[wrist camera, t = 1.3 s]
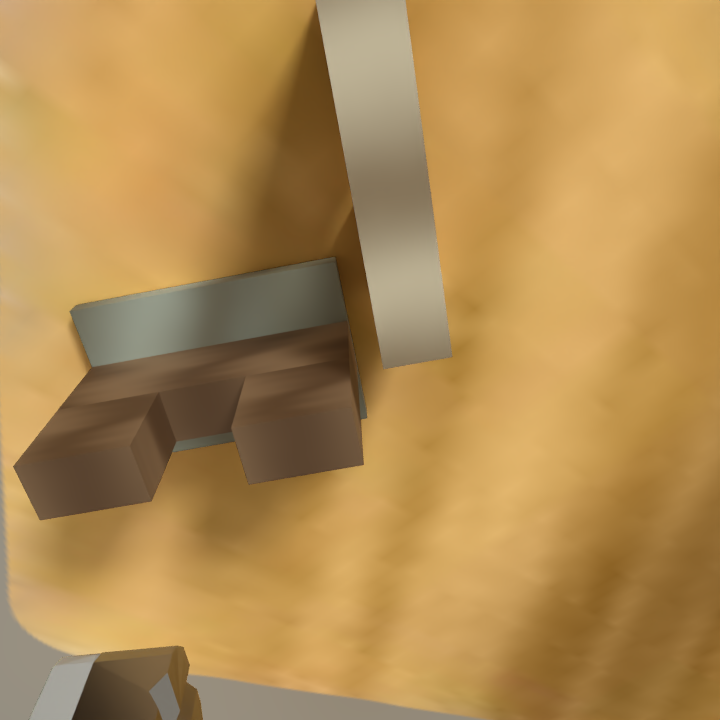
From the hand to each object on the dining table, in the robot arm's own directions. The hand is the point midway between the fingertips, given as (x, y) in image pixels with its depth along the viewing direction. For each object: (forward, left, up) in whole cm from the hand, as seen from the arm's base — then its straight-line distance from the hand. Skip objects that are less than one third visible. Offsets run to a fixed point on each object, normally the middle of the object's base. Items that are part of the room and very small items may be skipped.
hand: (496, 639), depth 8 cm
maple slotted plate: (0, -3, -22) cm, 22 cm away
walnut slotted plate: (+8, +5, -22) cm, 24 cm away
